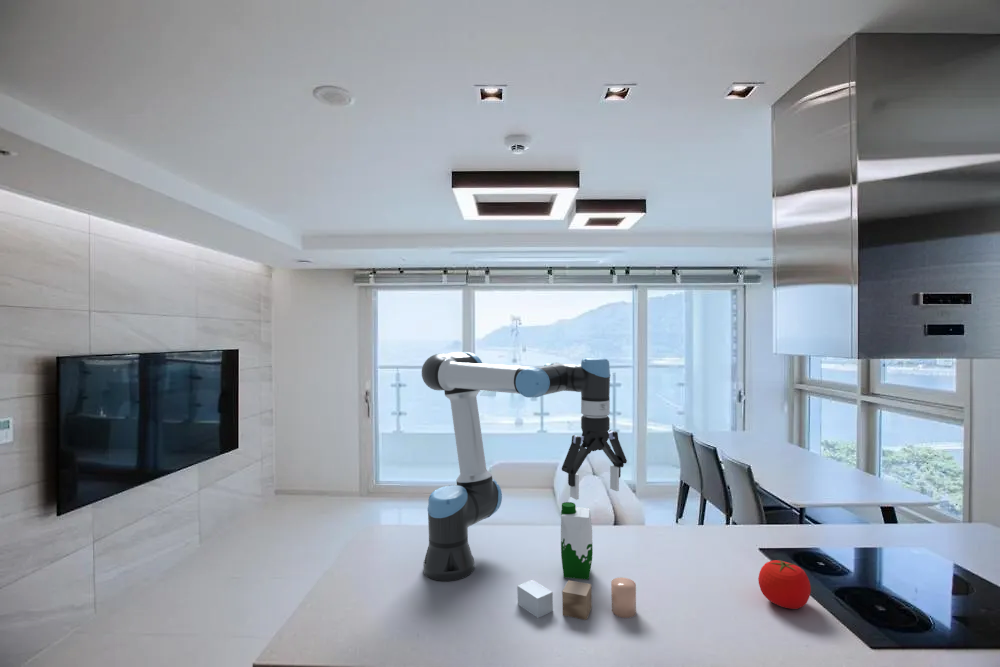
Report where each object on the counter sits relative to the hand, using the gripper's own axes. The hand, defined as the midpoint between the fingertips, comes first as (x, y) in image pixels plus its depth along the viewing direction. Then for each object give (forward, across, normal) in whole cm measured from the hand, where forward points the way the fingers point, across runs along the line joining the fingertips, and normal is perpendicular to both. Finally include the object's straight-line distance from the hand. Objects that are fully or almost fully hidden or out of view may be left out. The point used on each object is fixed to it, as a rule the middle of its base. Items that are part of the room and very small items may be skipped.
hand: (594, 493), depth 135 cm
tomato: (+26, +38, -29) cm, 54 cm away
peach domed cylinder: (+26, 0, -11) cm, 29 cm away
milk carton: (+27, +2, +10) cm, 29 cm away
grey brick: (+27, -18, +1) cm, 33 cm away
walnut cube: (+27, -10, -5) cm, 29 cm away
